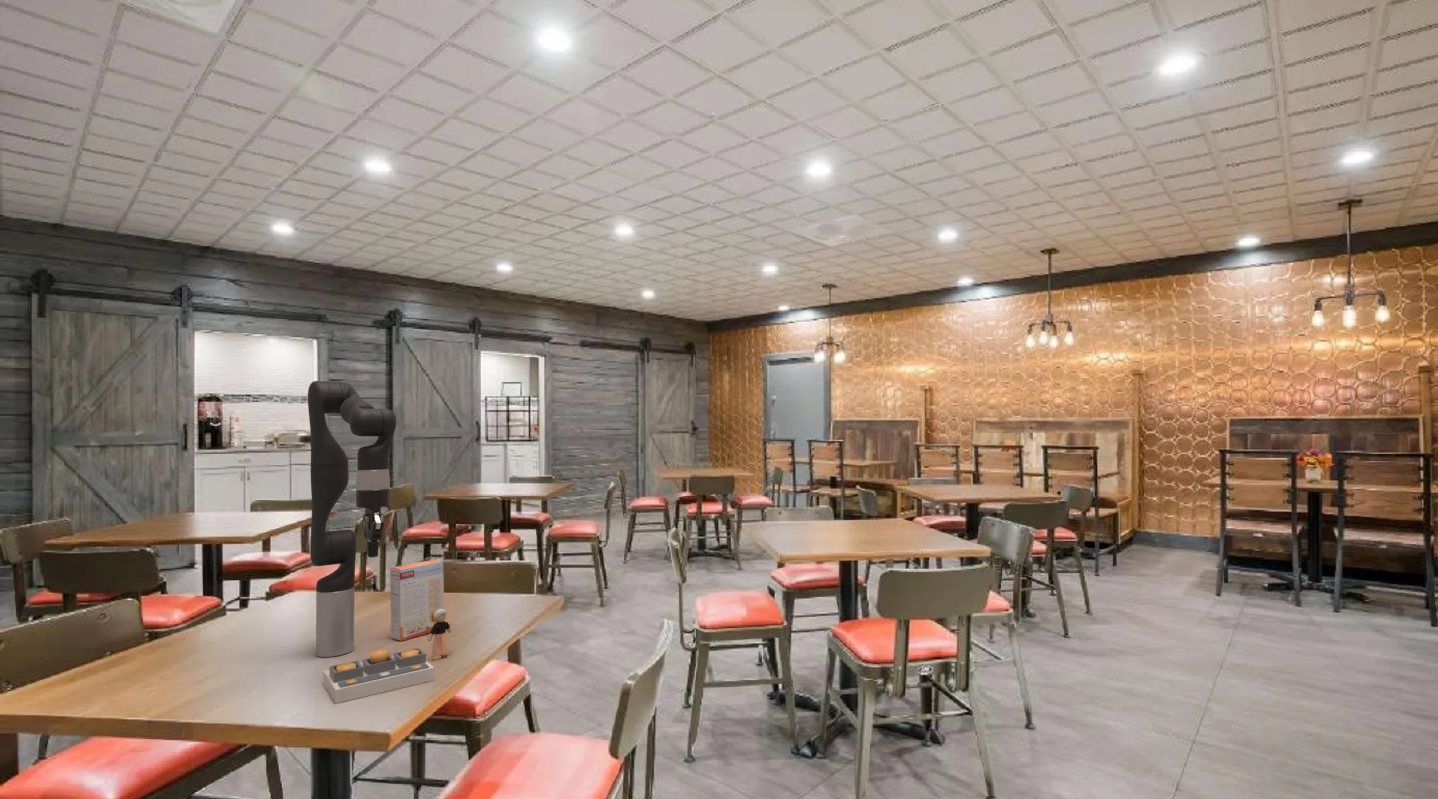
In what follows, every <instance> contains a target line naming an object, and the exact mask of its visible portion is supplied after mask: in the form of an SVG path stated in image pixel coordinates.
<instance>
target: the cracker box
mask: <svg viewBox="0 0 1438 799" xmlns="http://www.w3.org/2000/svg"><path fill="white" fill-rule="evenodd" d="M389 568H390V569H389V570H390V571H389V572H390V575H389V576H390V581H389V582H390V584H389V585H390V639H393V640H396V641H398V642H403V640H404V641H406V640H411V639H414V638H417V636H418V637H421V636H424V635H427V633H428V634H429V633H430V631H431V629H432V627H433V626H434V624H435V623H437V621H436V619H435V618H434V613H435V611H437V610H438V609H444V610H445V591H444V590H445V588H444V586H445V584H444V582H445V581H444V578H445V577H444V561H443V560H439V559H430V560H425V561H424V560H423V561H420V562H419V561H418V562H413V563H409V564H403V565H398V566H393V567H389Z"/></svg>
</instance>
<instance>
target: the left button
mask: <svg viewBox="0 0 1438 799" xmlns="http://www.w3.org/2000/svg"><path fill="white" fill-rule="evenodd" d="M340 664H341V665H339V664H338V665H339V666H337V672H339V671H344V670H348V669H353V668H356V663H349V662H345V664H344V663H340Z"/></svg>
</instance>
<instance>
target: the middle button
mask: <svg viewBox="0 0 1438 799" xmlns="http://www.w3.org/2000/svg"><path fill="white" fill-rule="evenodd" d="M388 654H389V649H387V648H378V649H374V650H371V651H370V652H369V658H370V662H371V663H378V662H383V661H386V660H388Z"/></svg>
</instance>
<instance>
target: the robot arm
mask: <svg viewBox="0 0 1438 799" xmlns="http://www.w3.org/2000/svg"><path fill="white" fill-rule="evenodd" d="M307 407H308V418H309V419H308V420H309V430H310V432H309V433H310V489H311V491H310V492H311V493H310V495H311V520H310V521H311V522H310V523H311V524H310V541H309V542H310V546H309V554H310V555H309V556H310V561H311V563H312V565H313V566H315V567H325V566H332V565H333V566H334V565H339V566H338V567H337V569H335V570H334V571H333V572H330V574H328V575H325V576H323V577H322V578H319V579H318V580H317V581H316V584H315V586H316V588H315V590H316V593H315V596H316V597H315V601H316V602H315V606H316V607H315V656H316V657H321V658H330V657H331V658H332V657H338V656H341V655H346V654H348V653H351V652H353V651H354V649H355V580H356V578H355V577H356V575H355V574H356V558H357V557H356V556H357V537H356V534H355V531H354V530H352V529H349V528H347V529H337V530H327V529H326V527H327V523H328V520H329V516H330V514H331V512H332V510H333V509H334V506H335V505H336V503H337V502H338V500H340V498H341V496H342V495H343V493H344V492H345V490H346V489H347V487H348V484H349V479H350V478H349V477H350V476H349V472H350V471H349V459H348V456H347V454H346V453H345V451H344V449H343V448H342V447H341V445H340V444H339V443H338V442H337V440H336V439H335V437H334V436H333V434H332V433H331V431H330V430H329V427H328V425H327V420H326V415H327V414H328V415H329V414H335V415H340V417H341V418H342V420H343V421H345V422H346V423H347V424H348V425H349V429H350V432H351V433H352V434H353V435H355V436H358V437H377V440H376V441H375V442H374V443H372V444H369V445H366V446H365V445H364V446H361V447H360V448H359V449H358V450H357V468H356V469H357V473H356V478H355V480H356V481H355V484H356V485H355V506H356V507H357V508H360V509H365V510H364V514H363V513H362V519H361V522H362V527H363V534H364V539H365V541H366V542H367V543H366V544H367V545H366V546H367V547H366V550H367V551H366V553H367V557H368V558H377V557H379V542H380V541H381V540H382V536H383V531H384V526H385V522H384V514H383V513H382V510H381V508H382V507H387V506H390V500H391V499H390V495H391V494H390V493H391V492H390V485H391V484H390V483H391V482H390V473H389V472H390V470H389V462H390V461H389V459H390V458H389V453H390V448H391V443H392V440H393V437H394V434H395V431H396V427H397V417H396V415H395V412H394V411H393V410H391V409H388V408H375V407H374V406H373V405H372V404H370V403H368V402H367V401H365V400H364V399H362V397H361V396H360V395H359V393H358V392H357V391H356V389H355V388H354V387H353V385H351V384H349V383H348V382H344V381H331V380H330V381H329V380H314V381H312V382H310V384H309V386H308V390H307ZM326 530H327V531H326Z"/></svg>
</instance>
